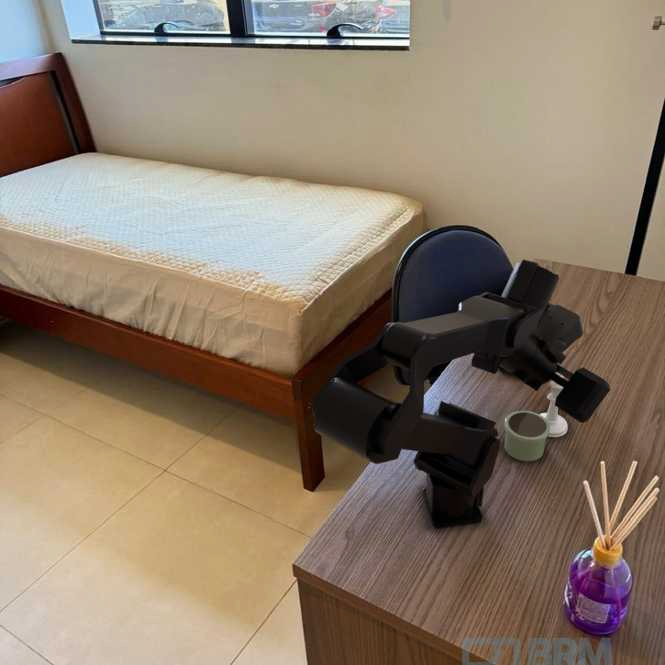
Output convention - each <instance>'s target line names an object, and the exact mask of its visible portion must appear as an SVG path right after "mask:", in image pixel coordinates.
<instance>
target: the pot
mask: <svg viewBox="0 0 665 665" xmlns="http://www.w3.org/2000/svg"><path fill="white" fill-rule="evenodd" d="M539 414H540V413H537V412H534V411H530V410H516V411H513V412H511V413H510V414H508V415H507V416H506V417H505V420H504V423H503V424H504V430H505V435H504V444H503V445H504V446H503V447H504V450H505V452H506V453H507V454H508V455H509V456H510V457H511V458H512V459H516V460H517V461H521V462H535V461H537V460H539V459H541V458H542V457H543V455H544V454H545V448H546V441H547V439H548V438H549V437H548V435H549V433H550V425H549V423H548V421H547V420H546V419H545V418H544V417H543V416H541V415H539Z"/></svg>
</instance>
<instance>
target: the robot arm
mask: <svg viewBox="0 0 665 665" xmlns="http://www.w3.org/2000/svg"><path fill="white" fill-rule="evenodd" d="M559 281H560V276H559V275H558V274H556V273H554V272H552V271H551V270H549V269H547V268H544V267H543V266H540V265H539V263H538V262H536V261H532V260H528V259H522V260H521V261H520V262H517V263H515V265H514V267H513V269H512V271H511V274H510V276H509V278H508V280H507V283H506V285H505V287H504V289H503V291H502V293H501V295H498V294H494V293H491V292H488V291H485V292H483V293H480V294H479V295H474V296H471V297H469V298H467V299H464V300H463V301H461V302H460V303H459V304H458V307H457V308H458V309H457V311H456V312H451V313H447V314H442V315H437V316H432V317H427V318H423V319H417V320H413V321H407V322H400V321H396V322H389V323H387V324H385V325H384V326H383V327H382V329H381V330H380V332H379V333H378V334H377V336H376V338H375V339H374V340H373V341H372V342H371V343H370V344H368V345H366V346H365V347H362V348H361V349H359V350H358V351H356V352H354V353H352V354H351V355H349V356H347V357H345V358H344V359H342V360H341V361H339V363H338V365H337V366H336V368H335V369H334V370H333V372H332V373H331V374H330V376H329V377H328V378H327V380H326V381H325V382H324V384H323V386H322V387H321V388H320V390H319V391H318V392H317V394H316V396H315V397H314V400H313V403H312V409H311V410H312V411H311V412H312V415H313V425H312V429H313V431H314V432H315V433H317V434H318V435H320V436H322V437H324V438H326V439H328V440H330V441H332V442H333V443H335V444H337V445H339V446H341V447H343V448H344V449H347V450H348V451H350V452H352V453H354V454H355V455H358V456H359V457H361V458H363V459H365V460H367V461H369V462H371V464H375V465H380V464H384V463H388V462H392V461H395V460H398V459H399V457H400V455H401V452H402V450H403V451H412V452H416V454H415V457H414V459H413V464H414V467H415V469H416V470H418V471H422V472H423V473H425V474H426V480H425V481H426V482H425V483H426V484H425V485H426V486H425V487H423V488H422V496H423V499H424V502H425V505H426V508H427V512H428V515H429V517H430V521H431V523H432V526H433V527H434V528H436V529H438V528H439V529H440V528H446V527H453V526H461V525H468V524H473V523H474V524H475V523H480V522H482V521H483V517H484V516H483V514H482V512H481V510H480V508H482V506H483V501H484V500H483V499H484V490H485V486H486V484H487V483H488V482H489V481H490V479H492V477H493V473H494V469H495V466H496V462H497V458H498V454H499V451H500V448H501V447H500V446H501V440H500V439H499V438H497V437H498V435H499V431H498V429H497V428H496V427H495V426H496V425H497V422H496V421H494V420H491V419H489V418H486V417H484V416H483V415H480V414H477V413H475V412H473V411H470V410H468V409H466V408H463V407H461V406H459V405H457V404H454V403H453V402H449V403H448V402H445V401H442V400H440V403H439V405H438V408H437V409H435V411H434V414H432V413H428V412H425V411H424V410H425V381H426V379H427V377H428V376H429V374H430V373H431V371H432V369H433V368H434V367H435V366H439V365H441V364H445V363H448V362H451V361H454V360H457V359H460V358H463V357H466V356H470V355H472V354H473V355H472V358H471V366H472V367H473V368H475V369H478V370H481V371H484V372H487V373H490V374H494V375H495V374H497V373H498V371H499V368H500V369H502V370H503V371H505V372H508V373H510V374H512V375H511V376H514V377H515V378H516V379H517V380H519V381H521V383H524V384H525V385H527V386H528V387H529V388H531V389H533V390H534V391H536V392H538V391H539V390H540V388H541V387H542V386H543V385H545V384H547V383H548V382H551V381H553V382H555V383H557V384H558V385H560V386H561V387H563V389H562V390H561V392H560V393H559V394H558V396H557V397H556V401H555V406H556V407H558V409H559V410H560V411H562V412H564V413H565V414H567V415H568V416H570V417H571V418H572V419H574V420H575V421H576V422H579V423H580V424H581V423H587V422H588V421H589V419H590V418H591V417H592V415H593V414H594V413H595V411H597V409H598V407H599V406H600V405H601V403H603V401H604V399H605V398H606V397H607V395H608V394H609V393H610V391H611V386H610V383H609V382H608V381H607V380H605V379H604V378H602V377H601V376H599V375H598V374H596V373H594V372H593V371H590V370H588V369H587V368H585V367H583V366H582V367H580V368H578V369H576V370H575V371H574V372H572V371H570V370H568V369H567V368H565V367H564V366H562V364H563V363H564V361H565V360H566V358H567V356H566V355H565V354H564V353H563V352H565V351H566V350H567V349H568V348H570V347H571V345H573V344H574V343H575V342H576V341H577V340H578V339H580V338H581V337H583V335H584V330H583V325H582V322H581V317H580V315H579V314H577V313H576V312H574V311H572V310H570V309H568V308H566V307H565V306H562V305H560V304H553V303H550V302H551V299H552V297H553V294H554V292H555V290H556V288H557V285H558V283H559ZM388 363H389V364H392V365H394V366H397V367H399V368H402V369H403V370H406V371H409V390H408V391H409V392H408V394H407V395H406V396H405V398H404V399H403V401H402V402H399V401H397V400H394V399H392V398H390V397H388V396H386V395H383V394H381V393H379V392H376V391H375V390H372V389H370V388H367V387H366V386H363V385H362V384H359V382H361V381H362V380H364V379H366V378H367V377H369V376H371V375H373V374H374V373H376V372H378V371H379V370H381V369H383V368H385V367H386V366H387V365H388ZM503 371H502V372H503ZM505 372H504V373H505ZM508 373H507V374H508ZM557 373H558V374H560V375H563V377H564V378H567V379H568V380H569V381H567V380H565V379H564V378H562V377H561V376H559V375H557ZM510 374H509V375H510Z"/></svg>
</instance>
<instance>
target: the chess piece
mask: <svg viewBox="0 0 665 665" xmlns="http://www.w3.org/2000/svg"><path fill="white" fill-rule="evenodd" d="M556 374H557V375H559V376H561V377H562V378H565V377H563V375H560V374H558V372H556ZM549 387H550V392H549V393H548V394H547V395H546V397H547V400H549V401H550V402H549V406H548V409H547V412H542V413H538V414H539V415H541V416H543V417H544V418H545V419H546V420H547V421H548V423H549V425H550V433H549V435H548V437H547V438H558V437H559V438H560V437H563V436H564V435H565V434H566V433H567V432H568V422H567V420H566V419H565V418H564V417H563V416H561V415H559V414H558V412H559V410H558V409H559V408H558V407H556V406H555V401H556V397H557V396H558V394H559V393H560V392H561V390H562V389H563V387H561V386H560V385H558V384H557V383H555V382H553V381H552V380H550V381H549Z"/></svg>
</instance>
